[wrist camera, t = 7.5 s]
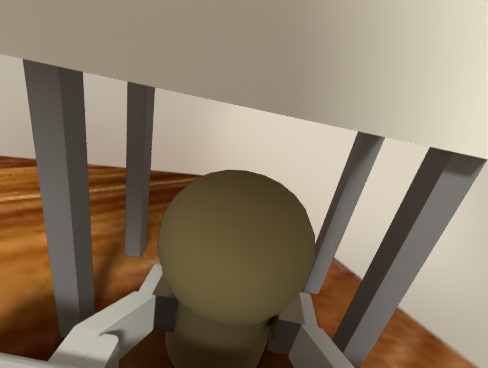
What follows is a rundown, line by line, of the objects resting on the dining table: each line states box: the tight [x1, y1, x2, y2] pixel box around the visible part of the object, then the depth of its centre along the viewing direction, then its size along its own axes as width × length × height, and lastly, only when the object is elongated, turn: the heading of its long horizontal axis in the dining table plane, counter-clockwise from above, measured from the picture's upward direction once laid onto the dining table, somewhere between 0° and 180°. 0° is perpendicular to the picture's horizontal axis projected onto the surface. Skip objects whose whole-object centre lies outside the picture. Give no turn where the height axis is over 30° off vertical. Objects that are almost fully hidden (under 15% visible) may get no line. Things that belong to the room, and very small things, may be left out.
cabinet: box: [0, 0, 488, 368], centre depth 12 cm, size 10×16×29 cm, turn 86°
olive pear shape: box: [157, 170, 315, 368], centre depth 11 cm, size 6×6×11 cm
